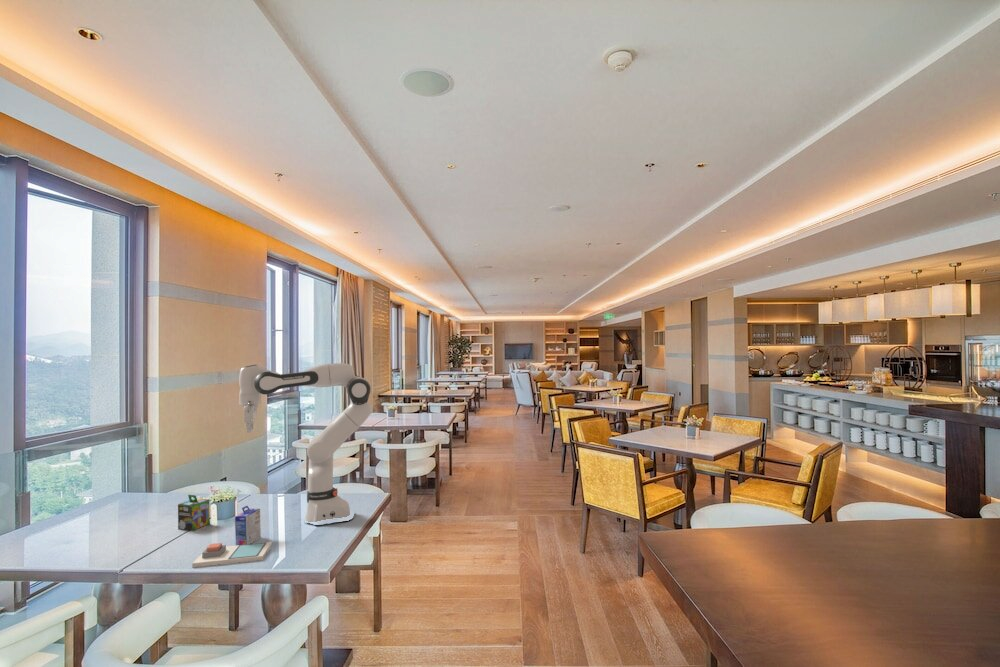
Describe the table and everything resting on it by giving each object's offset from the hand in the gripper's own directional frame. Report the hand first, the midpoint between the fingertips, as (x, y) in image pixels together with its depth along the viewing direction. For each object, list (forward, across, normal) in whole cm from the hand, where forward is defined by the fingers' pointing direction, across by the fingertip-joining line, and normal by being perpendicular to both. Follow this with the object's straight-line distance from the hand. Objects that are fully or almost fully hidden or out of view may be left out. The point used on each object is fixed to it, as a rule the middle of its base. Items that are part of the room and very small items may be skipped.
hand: (250, 430), depth 216 cm
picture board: (+44, -31, +4) cm, 54 cm away
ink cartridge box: (+44, -17, 0) cm, 47 cm away
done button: (+41, -30, +10) cm, 52 cm away
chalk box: (+44, +14, +24) cm, 52 cm away
